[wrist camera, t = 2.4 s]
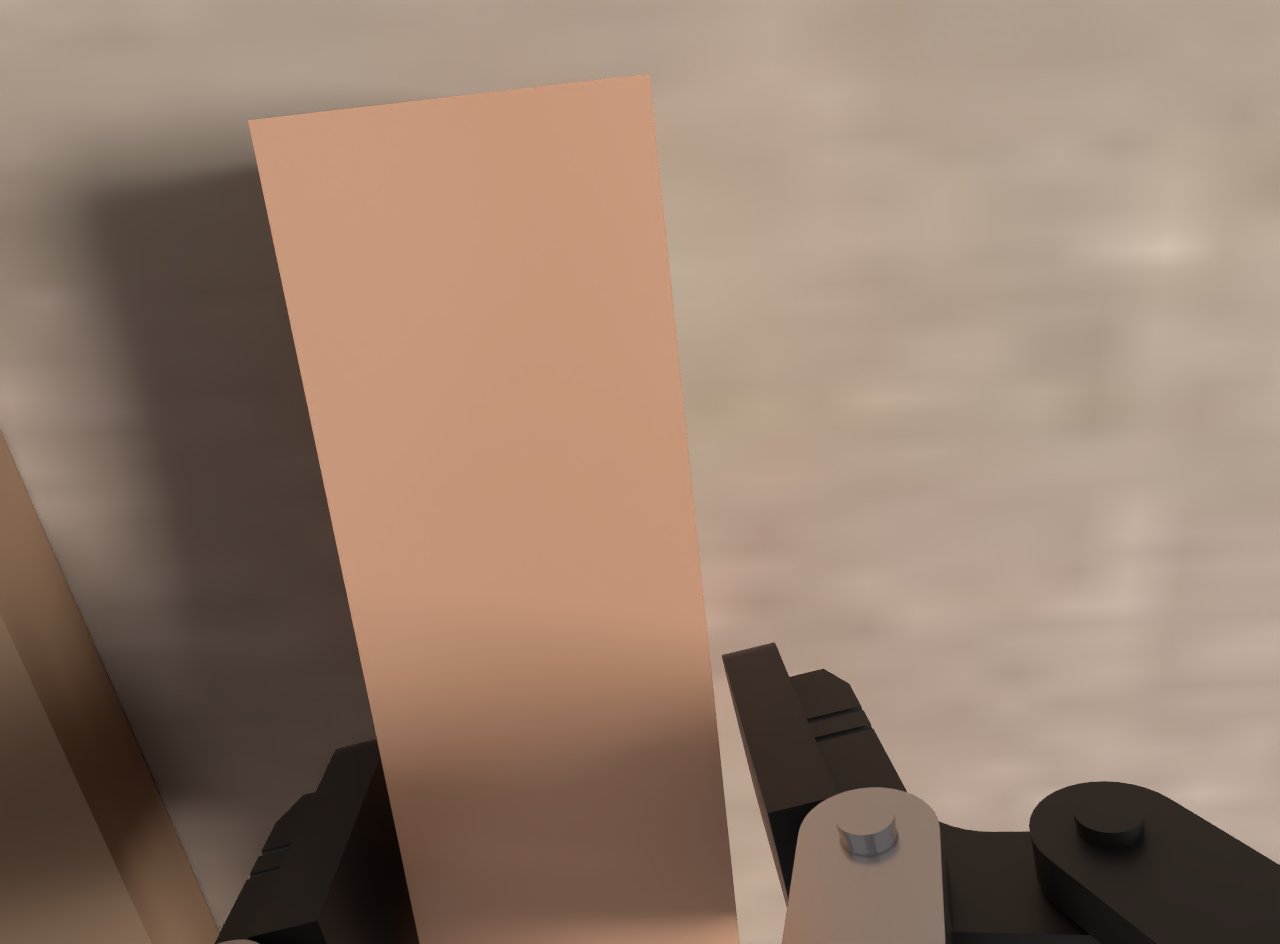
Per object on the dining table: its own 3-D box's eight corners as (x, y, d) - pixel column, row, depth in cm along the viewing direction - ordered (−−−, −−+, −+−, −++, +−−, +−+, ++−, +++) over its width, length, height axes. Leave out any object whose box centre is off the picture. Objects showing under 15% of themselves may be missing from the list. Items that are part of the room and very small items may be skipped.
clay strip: (364, 147, 13) (248, 119, 9) (630, 117, 13) (650, 73, 9) (536, 1108, 17) (518, 1415, 13) (735, 1082, 17) (784, 1379, 13)
